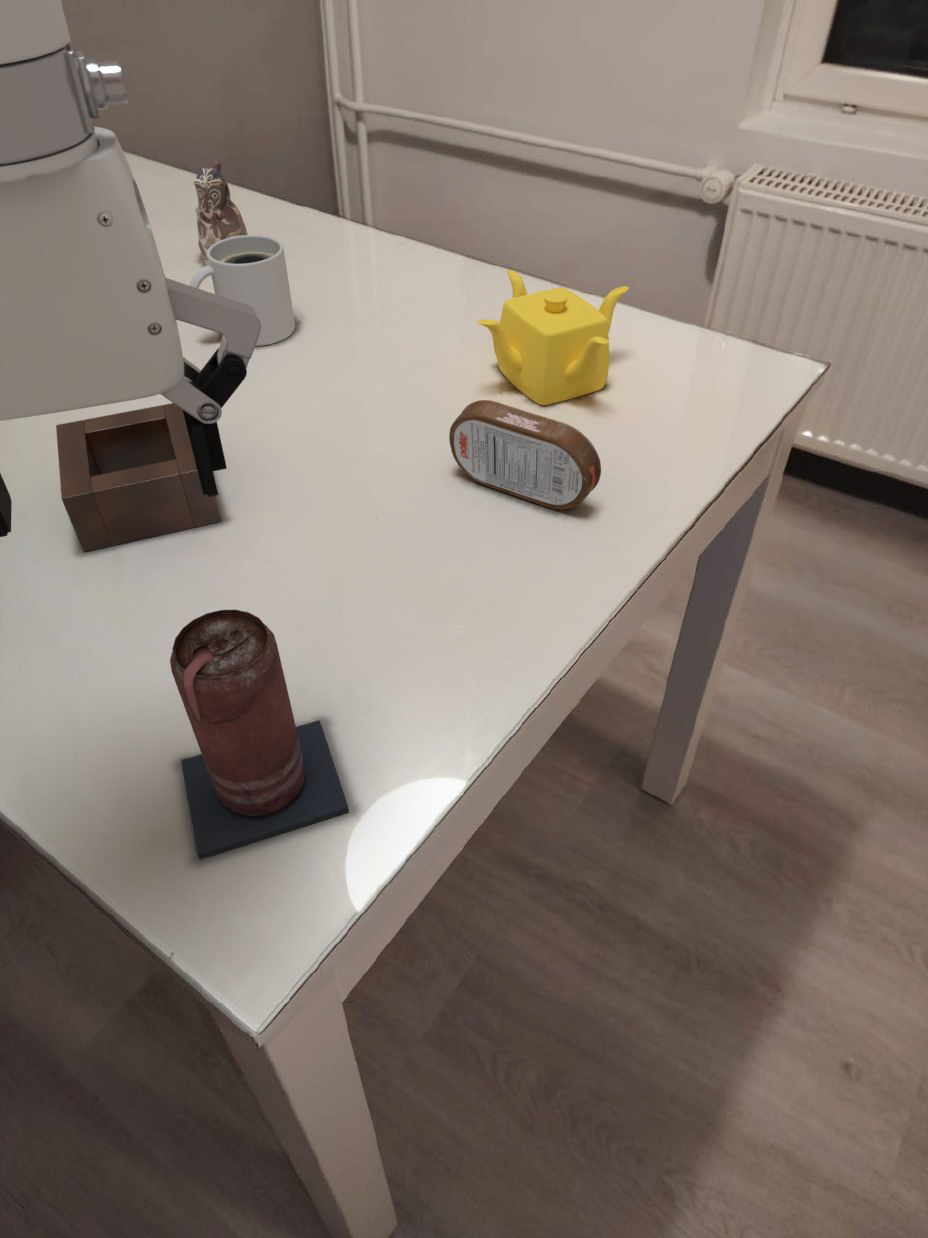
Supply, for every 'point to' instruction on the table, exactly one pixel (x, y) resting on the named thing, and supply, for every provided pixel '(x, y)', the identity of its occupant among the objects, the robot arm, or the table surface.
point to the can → (239, 710)
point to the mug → (253, 281)
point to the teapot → (553, 342)
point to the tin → (524, 454)
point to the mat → (310, 805)
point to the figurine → (215, 210)
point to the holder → (131, 477)
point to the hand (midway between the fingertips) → (108, 500)
